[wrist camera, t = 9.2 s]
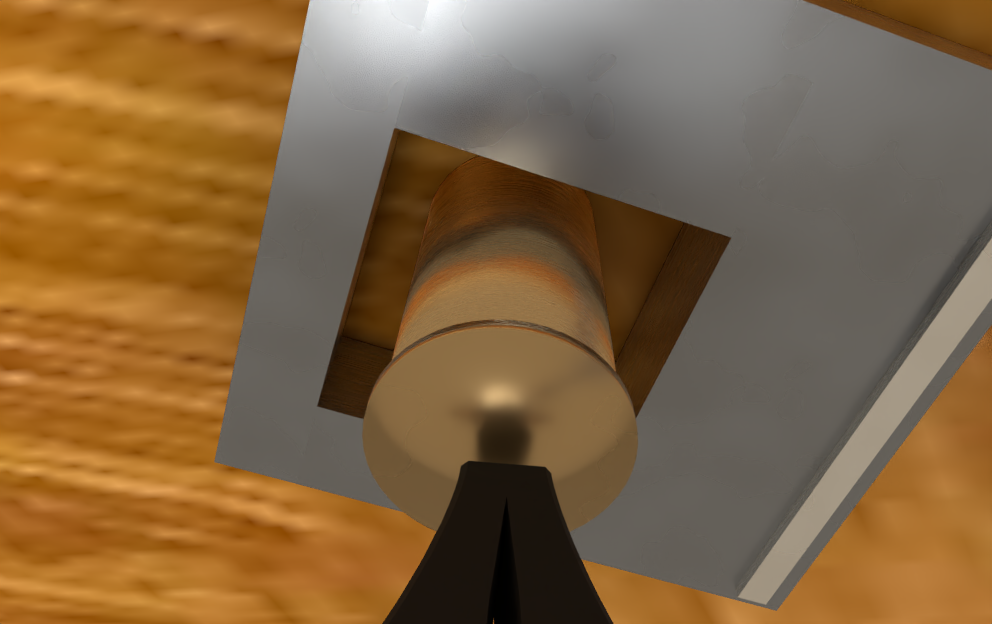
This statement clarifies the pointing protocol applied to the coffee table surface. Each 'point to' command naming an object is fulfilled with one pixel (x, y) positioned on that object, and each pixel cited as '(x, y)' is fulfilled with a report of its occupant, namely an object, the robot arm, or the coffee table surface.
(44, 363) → the coffee table surface
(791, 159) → the jig
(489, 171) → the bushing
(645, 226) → the coffee table surface
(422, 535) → the coffee table surface
